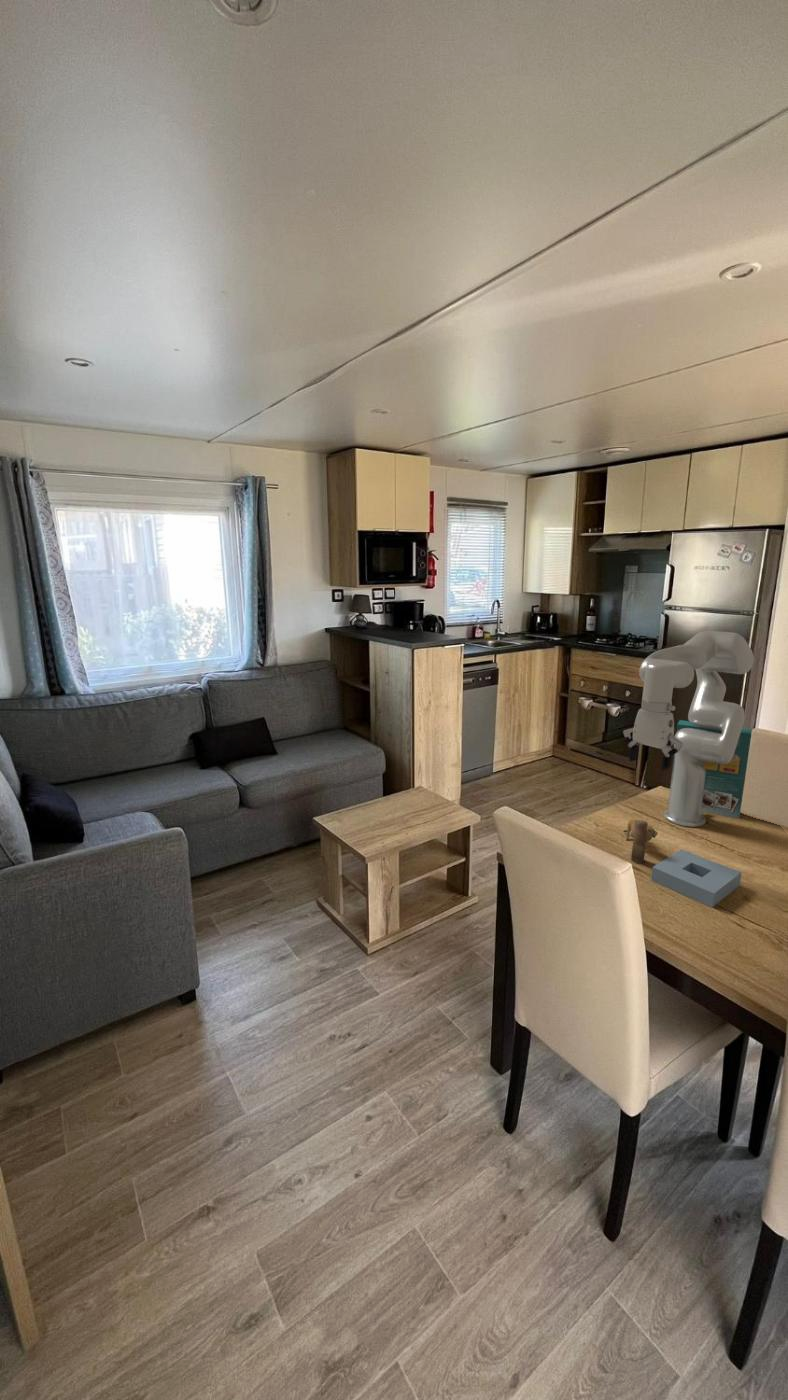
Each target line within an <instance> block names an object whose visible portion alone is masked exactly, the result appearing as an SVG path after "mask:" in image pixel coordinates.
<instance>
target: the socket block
mask: <svg viewBox="0 0 788 1400" xmlns="http://www.w3.org/2000/svg"><path fill="white" fill-rule="evenodd" d="M651 869H652V870H651V878H650V879H651V880H650V881H652V882H653V883H656V884H658V885H660V886H663V887H665V888H667V889H670V890H672V891H674V892H677V893H678V894H681V895H683V896H686V897H687V898H690V899H692V900H694V901H696V902H699V903H700V904H703V905H705V906H707V907H710V908H714V907H715V906H716V905H717V904H718V903H720V902H721V901H722V900H723V899H725V898H726V897H728V895H730V894H731V893H732V892H734V891H735V890H736V889H737V888H739V887H741V886H740V885H741V880H742V872H741V871H739V870H737V869H735V868H731V867H728V866H727V865H723V864H721V863H719V862H716V861H714V860H711V859H709V858H706V857H703V856H701V855H699V854H698V855H697V854H695V853H692V852H691V851H687V850H685V849H679V850H678V851H676V852H674V853H673V854H672V855H670V856H668V857H667V858H665V859H663V860H662V861H660V862H658V863H657V864H655V865H653V866H652V868H651Z"/></svg>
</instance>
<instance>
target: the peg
mask: <svg viewBox="0 0 788 1400" xmlns="http://www.w3.org/2000/svg"><path fill="white" fill-rule="evenodd" d="M635 820H636V821H635V825H634V836H632V847H631V848H632V849H631V857H630V858H631V859H630V861H632V863H635V864H639V865H640V864H644V863H645V854H646V849H645V847H646V844H647V842H646V835H647V826H648V824H649V823H648V822H647V821H645V820H640V819H639V820H638V819H635Z"/></svg>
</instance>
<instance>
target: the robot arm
mask: <svg viewBox="0 0 788 1400" xmlns="http://www.w3.org/2000/svg"><path fill="white" fill-rule="evenodd" d="M748 643H749V642H747V641H746V639H745V638H744V637H743V636H742V635H741V634H739V633H737V632H733V631H732V632H729V631H716V630H703V631H700V632H698V633H697V634H695V635H694V636H692V637H691V638H690V639H689V640H687V641H686V642H685V643H684V644H680V645H676V646H672V647H666V648H663V649H659V650H656V651H654V652H652V653H651V654H649V655H648V656H647V657H646V658H645V659H644V660H643V661H642V663H641V664H640V667H639V671H638V675H639V678H640V679H641V681H642V682H643V688H642V695H641V696H642V698H641V704H640V705H641V707H640V708H639V709H638V711H637V714H636V717H635V720H634V723H633V727H630V728H627V729H624V730H623V731H622V733H623V736H624V740H625V741H626V743H627V746H628V748H629V751H628V756H629V758H628V759H629V760H628V761H629V762H633V761H636V760H638V755H639V746H638V745H644V746H649V747H652V748H656V749H661V752H662V753H663V756H662V760H661V766H660V767H661V768H660V769H661V770H662V771H666V770H669V769H670V767H671V766H672V765H671V764H672V757H674V754H675V764H674V774H673V783H672V792H671V800H670V805H669V808H667V809H665V810H664V812H663V817H664V818H665V819H666V820H667V821H668V822H671V823H673V824H675V825H678V826H683V827H694V828H695V827H696V828H697V827H701V826H703V825H705V824H706V820H707V819H706V817H705V816H704V815H703V813H702V812H703V811H702V808H704V807H705V805H704V803H703V795H704V787H705V779H706V769H705V766H704V764H703V762H702V761H701V760H704V761H708V762H713V763H717V764H727V763H729V762H730V761H731V760H732V758H733V755H734V752H735V749H736V746H737V743H738V740H739V737H740V734H741V730H742V728H744V723H745V718H746V717H745V715H746V714H745V710H744V708H743V706H741V705H740V704H737V703H736V702H729V701H724V697H725V694H726V693H727V692H726V691H727V686H726V683H725V682H724V680H723V679H722V677H721V676H720V674H719V673H725V674H726V673H728V674H735V675H745V674H747V673H748V672H750V670H751V669H752V667H753V665H754V661H755V659H754V653H753V651H752V648H751V647H750V645H749V644H748ZM718 672H719V673H718ZM695 673H696V681H697V685H696V689H695V692H694V695H693V698H692V701H691V703H690V707H689V710H688V715H687V719H688V720H687V721H689V722H690V723H691V724H693V725H696V726H699V727H704V728H709V729H714V730H719V731H722V733H721V734H719V733H714V732H709V731H705V730H699V729H694V728H683V729H680V730H679V731H678V732H677V731H676V733H675V721H674V713H673V712H672V711H675V710H676V706H675V705H673V704H672V703H673V702H672V700H673V699H672V698H673V690H674V688H675V689H683V688H686V687H688V686H689V685H691V684H692V682H693V680H694V678H695ZM631 733H632V736H631ZM674 734H675V735H674ZM672 746H673V748H672Z"/></svg>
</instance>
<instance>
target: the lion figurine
mask: <svg viewBox="0 0 788 1400" xmlns="http://www.w3.org/2000/svg"><path fill="white" fill-rule="evenodd" d="M636 820H637V819H635V818H631V819H630V820H629V821H628V822H627V829H624V830H623V833H626V836H625V840H626V841H630V836H632V837H633V836H634V825H635V821H636ZM658 834H659V833H658V831H656V830H655V829H654V828H653V825H652V824H650V823H648V826H647V835H646V843H649V841H651V840H652V839H653V838H654V839H655V838H656V837H657V836H658ZM646 849H647V846H645V850H646Z"/></svg>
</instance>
